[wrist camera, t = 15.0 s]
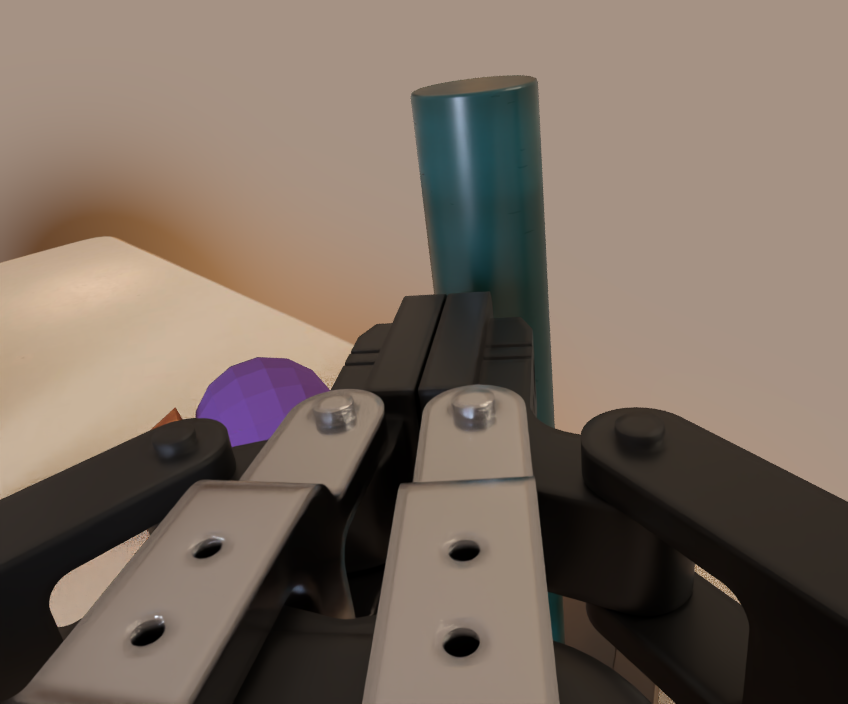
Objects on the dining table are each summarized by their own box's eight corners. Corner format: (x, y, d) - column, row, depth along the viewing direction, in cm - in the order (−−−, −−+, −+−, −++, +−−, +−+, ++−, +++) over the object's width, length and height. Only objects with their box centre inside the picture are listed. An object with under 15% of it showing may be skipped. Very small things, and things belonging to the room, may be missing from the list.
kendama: (-187, 493, 29) (300, 327, 34) (-116, 619, 31) (337, 442, 36) (-265, 562, 23) (329, 351, 29) (-174, 710, 25) (371, 486, 30)
